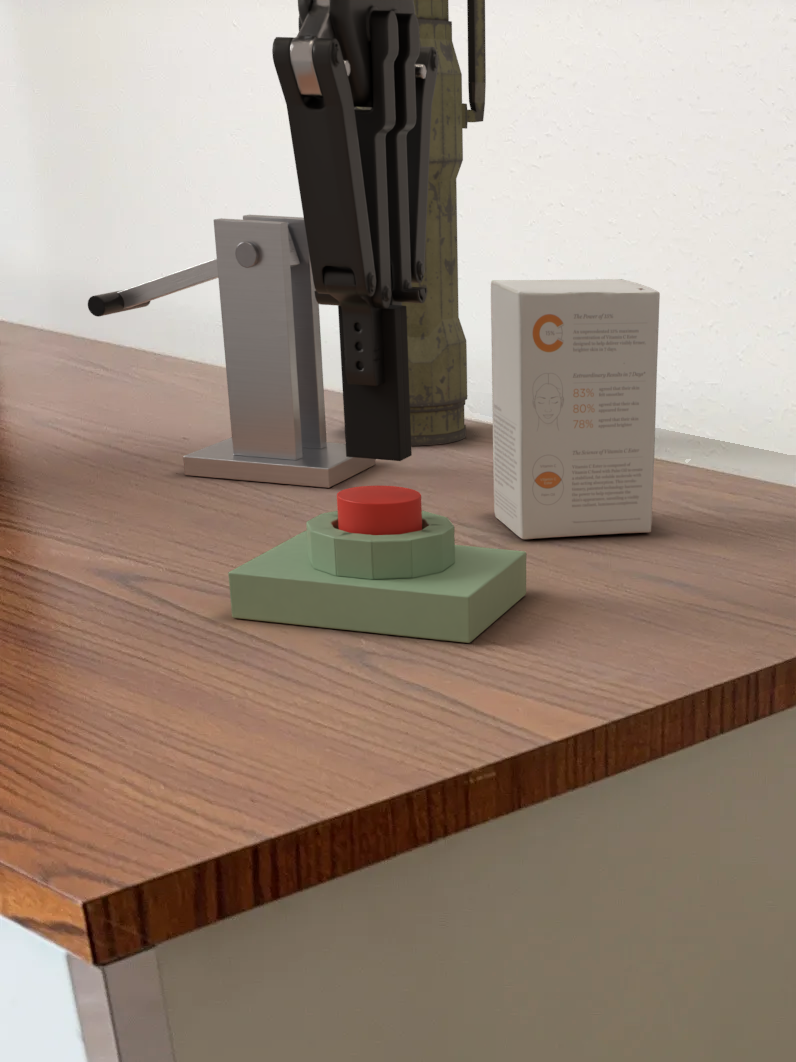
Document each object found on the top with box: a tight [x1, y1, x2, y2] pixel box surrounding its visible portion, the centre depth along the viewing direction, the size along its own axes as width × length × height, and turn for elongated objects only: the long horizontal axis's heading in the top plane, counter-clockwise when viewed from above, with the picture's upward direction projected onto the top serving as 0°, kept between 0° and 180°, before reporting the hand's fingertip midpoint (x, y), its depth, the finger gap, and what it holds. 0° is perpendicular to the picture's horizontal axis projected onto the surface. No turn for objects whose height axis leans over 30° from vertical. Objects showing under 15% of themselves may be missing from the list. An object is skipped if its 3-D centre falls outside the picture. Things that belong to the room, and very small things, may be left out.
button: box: [336, 485, 423, 535], centre depth 79 cm, size 4×4×2 cm
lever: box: [87, 229, 300, 318], centre depth 103 cm, size 13×6×2 cm, turn 76°
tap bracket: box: [182, 214, 377, 489], centre depth 105 cm, size 10×8×15 cm
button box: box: [227, 510, 527, 644], centre depth 80 cm, size 12×9×4 cm
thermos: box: [357, 0, 487, 447], centre depth 111 cm, size 9×12×35 cm
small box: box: [490, 278, 661, 540], centre depth 94 cm, size 8×6×13 cm
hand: (379, 455), depth 78 cm, fingers closed
